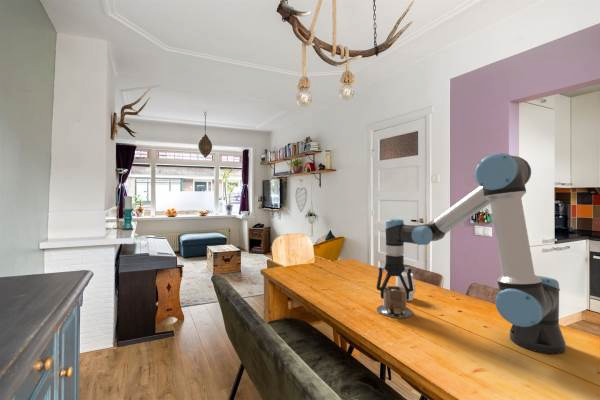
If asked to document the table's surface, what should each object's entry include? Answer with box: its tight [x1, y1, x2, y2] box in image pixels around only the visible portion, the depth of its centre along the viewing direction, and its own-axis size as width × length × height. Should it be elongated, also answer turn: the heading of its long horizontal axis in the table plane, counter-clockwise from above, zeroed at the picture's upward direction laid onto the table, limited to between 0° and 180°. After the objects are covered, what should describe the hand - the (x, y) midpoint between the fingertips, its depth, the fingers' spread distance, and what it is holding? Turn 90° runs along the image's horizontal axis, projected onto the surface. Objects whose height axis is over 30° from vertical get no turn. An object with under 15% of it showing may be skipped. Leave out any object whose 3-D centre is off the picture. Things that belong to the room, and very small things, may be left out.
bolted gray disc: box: [376, 289, 414, 319], centre depth 135 cm, size 15×15×9 cm
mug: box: [395, 271, 417, 302], centre depth 151 cm, size 12×8×12 cm
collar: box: [385, 285, 407, 314], centre depth 133 cm, size 12×8×8 cm, turn 172°
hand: (394, 306), depth 135 cm, fingers closed on collar, 8 cm apart
